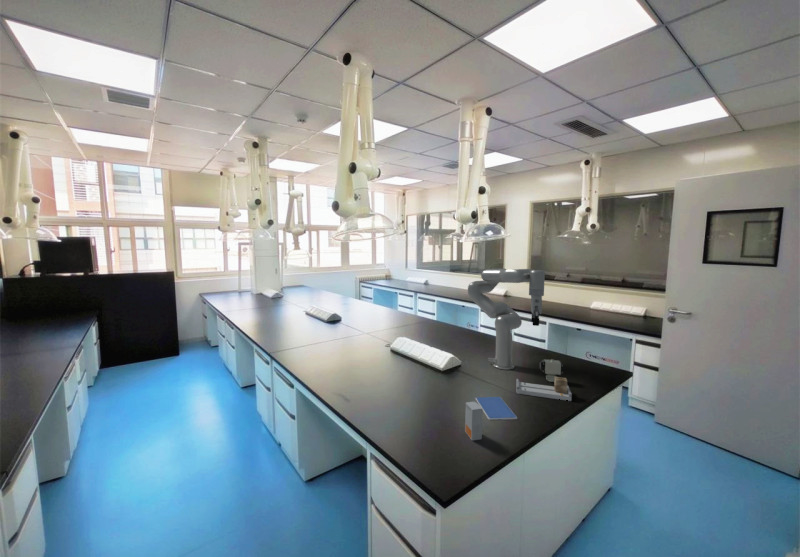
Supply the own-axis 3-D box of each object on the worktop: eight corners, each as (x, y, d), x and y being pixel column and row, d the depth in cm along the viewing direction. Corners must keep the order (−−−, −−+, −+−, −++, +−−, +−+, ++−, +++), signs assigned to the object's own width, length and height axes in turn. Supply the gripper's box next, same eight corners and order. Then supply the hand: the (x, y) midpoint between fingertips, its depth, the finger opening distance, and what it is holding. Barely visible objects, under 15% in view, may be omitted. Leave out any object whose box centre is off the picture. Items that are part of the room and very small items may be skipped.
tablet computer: (518, 420, 131) (518, 417, 131) (488, 421, 130) (488, 418, 130) (500, 399, 150) (500, 396, 150) (474, 399, 149) (474, 397, 149)
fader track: (516, 393, 155) (516, 386, 155) (516, 385, 164) (516, 378, 164) (571, 401, 147) (571, 393, 147) (567, 392, 156) (567, 385, 156)
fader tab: (555, 391, 152) (555, 379, 151) (554, 388, 155) (554, 376, 155) (566, 393, 150) (567, 380, 150) (565, 390, 154) (566, 377, 153)
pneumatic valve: (564, 383, 166) (565, 361, 165) (540, 381, 169) (541, 359, 168) (561, 379, 172) (562, 358, 171) (538, 377, 175) (539, 356, 174)
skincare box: (464, 432, 121) (465, 402, 120) (474, 430, 122) (475, 400, 121) (471, 441, 115) (472, 409, 114) (482, 439, 116) (483, 408, 115)
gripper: (545, 294, 162) (544, 327, 164) (542, 291, 178) (541, 320, 180) (529, 294, 165) (528, 326, 166) (528, 290, 181) (527, 319, 182)
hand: (535, 323), depth 173 cm, fingers open, 9 cm apart
